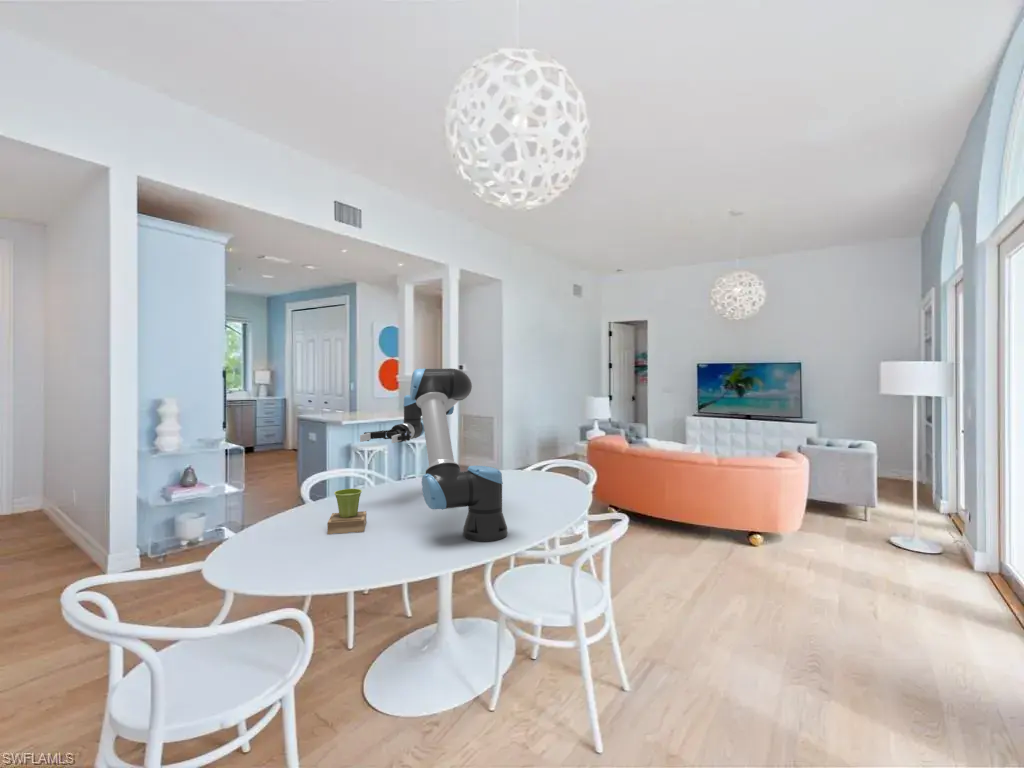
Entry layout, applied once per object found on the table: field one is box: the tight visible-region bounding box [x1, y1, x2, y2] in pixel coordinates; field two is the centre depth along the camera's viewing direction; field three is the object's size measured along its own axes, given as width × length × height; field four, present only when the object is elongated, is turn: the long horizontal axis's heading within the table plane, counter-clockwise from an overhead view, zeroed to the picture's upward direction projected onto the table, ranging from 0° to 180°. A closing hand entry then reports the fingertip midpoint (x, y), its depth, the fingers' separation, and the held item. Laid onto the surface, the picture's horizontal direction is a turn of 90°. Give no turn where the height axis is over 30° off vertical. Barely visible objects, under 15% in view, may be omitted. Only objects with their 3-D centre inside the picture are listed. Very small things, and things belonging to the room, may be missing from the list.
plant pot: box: [333, 488, 363, 518], centre depth 180 cm, size 9×9×9 cm
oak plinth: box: [326, 510, 367, 535], centre depth 180 cm, size 12×12×4 cm
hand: (376, 438), depth 194 cm, fingers open, 13 cm apart
